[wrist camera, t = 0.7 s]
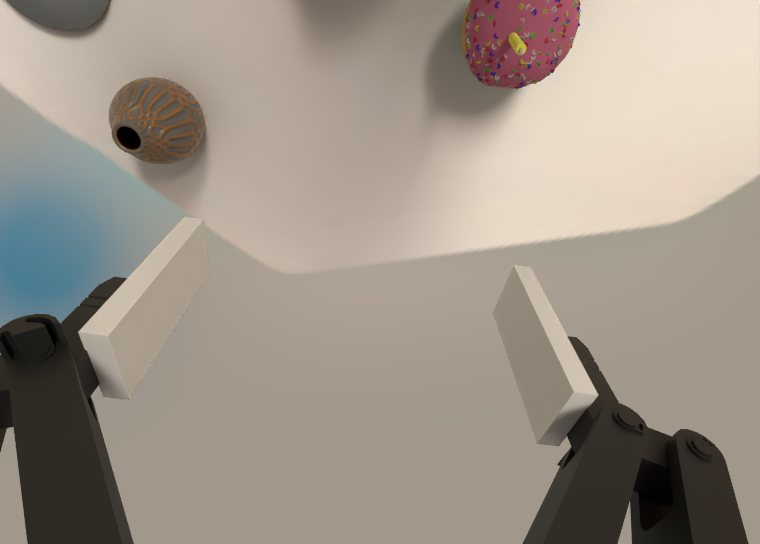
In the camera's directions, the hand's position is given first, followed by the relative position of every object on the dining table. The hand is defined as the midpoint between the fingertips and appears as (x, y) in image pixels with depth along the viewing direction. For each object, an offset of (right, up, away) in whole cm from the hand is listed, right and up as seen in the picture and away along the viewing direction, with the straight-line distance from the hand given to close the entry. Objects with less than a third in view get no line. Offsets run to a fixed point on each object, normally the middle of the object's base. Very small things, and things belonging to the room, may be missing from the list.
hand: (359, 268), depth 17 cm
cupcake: (+11, +21, +16) cm, 29 cm away
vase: (-18, +15, +21) cm, 32 cm away
